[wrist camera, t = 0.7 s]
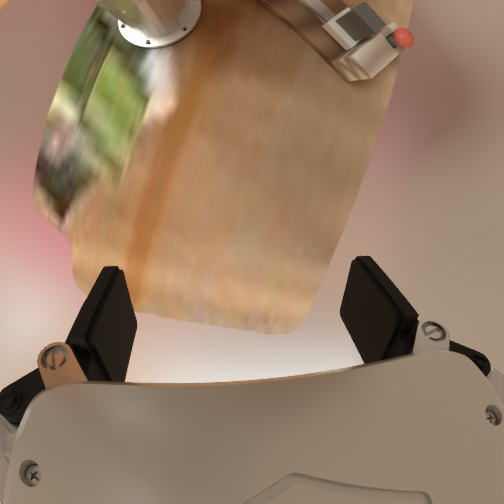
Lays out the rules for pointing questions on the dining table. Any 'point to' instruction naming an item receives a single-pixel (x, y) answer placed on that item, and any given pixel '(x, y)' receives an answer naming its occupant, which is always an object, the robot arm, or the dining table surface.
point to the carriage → (353, 25)
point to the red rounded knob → (401, 38)
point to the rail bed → (342, 61)
